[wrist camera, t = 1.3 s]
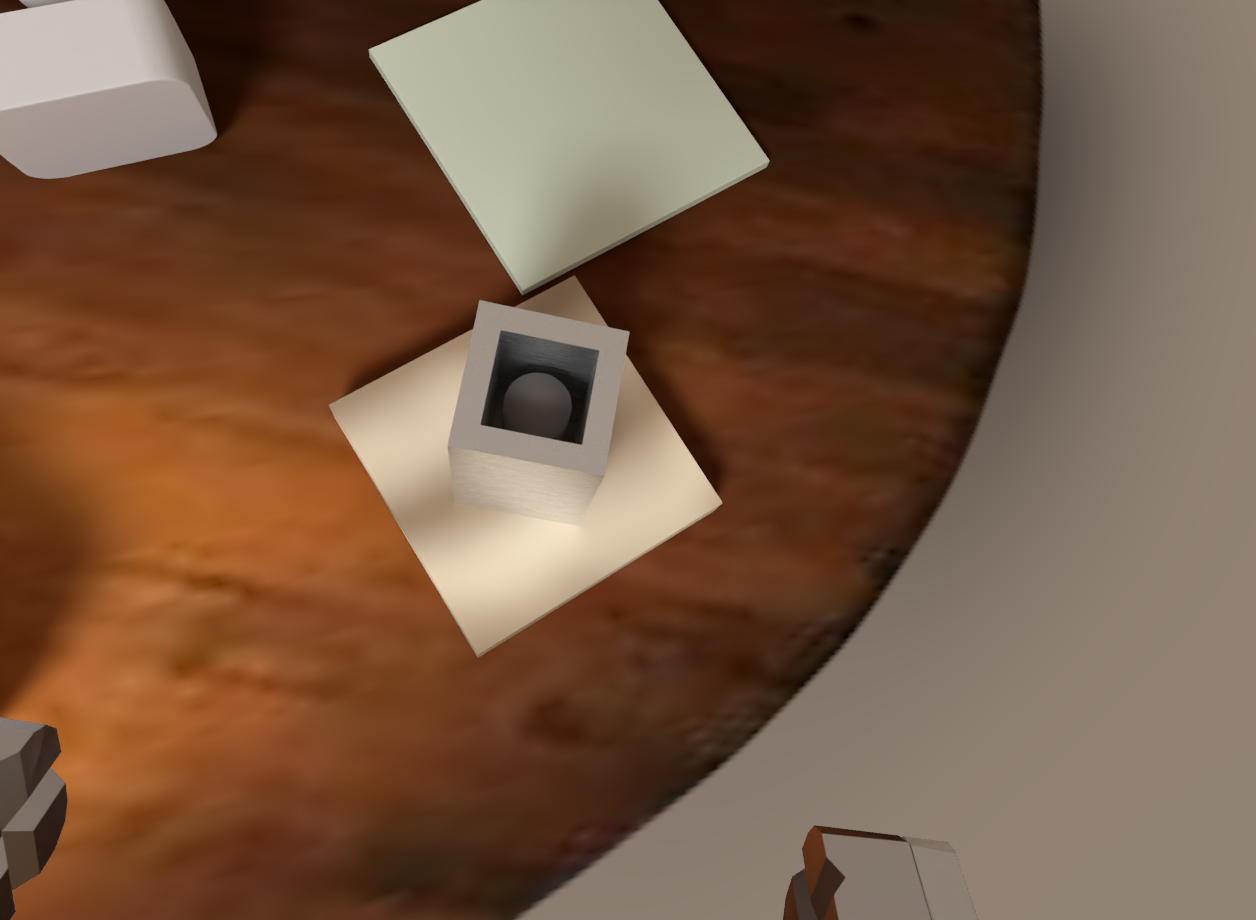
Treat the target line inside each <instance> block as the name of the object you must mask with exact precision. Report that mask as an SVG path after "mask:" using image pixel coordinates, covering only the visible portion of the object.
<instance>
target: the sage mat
mask: <svg viewBox="0 0 1256 920" xmlns="http://www.w3.org/2000/svg"><path fill="white" fill-rule="evenodd" d="M369 54H370V58H371V60H372V61H373V63H374V64H375V66H376V67H377V69H378V71H379V72H380V74H381V75H382V77H383V78H384V80H385V82H386V83H387V85H388V86H389V88H390V89H391V91H392V92H393V94H394V96H395V97H396V99H397V100H398V102H399V103H400V105H401V107H402V108H403V110H404V111H405V113H406V114H407V116H408V117H409V119H410V121H411V122H412V124H413V125H414V127H415V128H416V130H417V132H418V133H419V135H420V136H421V138H422V139H423V141H424V143H425V144H426V146H427V147H428V149H429V150H430V152H431V153H432V155H433V157H434V158H435V160H436V161H437V163H438V164H439V166H440V168H441V169H442V171H443V172H444V174H445V175H446V177H447V179H448V180H449V182H450V183H451V185H452V186H453V188H454V189H455V191H456V193H457V194H458V196H459V197H460V199H461V200H462V202H463V204H464V205H465V207H466V208H467V210H468V211H469V213H470V214H471V216H472V218H473V219H474V221H475V222H476V224H477V225H478V227H479V229H480V230H481V232H482V233H483V235H484V236H485V238H486V240H487V241H488V243H489V244H490V246H491V247H492V249H493V250H494V252H495V254H496V255H497V257H498V258H499V260H500V261H501V263H502V265H503V266H504V268H505V269H506V271H507V272H508V274H509V276H510V277H511V279H512V280H513V282H514V283H515V285H516V286H517V288H518V290H519V291H520V293H521V294H522V295H524V294H526V293H528V292H530V291H532V290H534V289H536V288H538V287H540V286H541V285H543V284H545V283H547V282H549V281H551V280H553V279H555V278H557V277H559V276H560V275H562V274H564V273H566V272H568V271H570V270H572V269H574V268H576V267H578V266H580V265H581V264H583V263H585V262H587V261H589V260H591V259H593V258H595V257H597V256H599V255H600V254H602V253H604V252H606V251H608V250H610V249H612V248H614V247H616V246H618V245H620V244H621V243H623V242H625V241H627V240H629V239H631V238H633V237H635V236H637V235H639V234H640V233H642V232H644V231H646V230H648V229H650V228H652V227H654V226H656V225H658V224H660V223H661V222H663V221H665V220H667V219H669V218H671V217H673V216H675V215H677V214H679V213H680V212H682V211H684V210H686V209H688V208H690V207H692V206H694V205H696V204H698V203H700V202H701V201H703V200H705V199H707V198H709V197H711V196H713V195H715V194H717V193H719V192H720V191H722V190H724V189H726V188H728V187H730V186H732V185H734V184H736V183H738V182H739V181H741V180H743V179H745V178H747V177H749V176H751V175H753V174H755V173H757V172H759V171H760V170H762V169H764V168H766V167H767V165H768V163H769V161H770V160H769V159H768V158H767V156H766V155H765V153H764V152H763V150H762V149H761V148H760V146H759V145H758V143H757V142H756V140H755V139H754V137H753V136H752V135H751V133H750V132H749V130H748V129H747V127H746V126H745V125H744V123H743V122H742V120H741V119H740V117H739V116H738V115H737V113H736V112H735V110H734V109H733V107H732V106H731V104H730V103H729V102H728V100H727V99H726V97H725V96H724V94H723V93H722V92H721V90H720V89H719V87H718V86H717V84H716V83H715V81H714V80H713V79H712V77H711V76H710V74H709V73H708V71H707V70H706V69H705V67H704V66H703V64H702V63H701V61H700V60H699V59H698V57H697V56H696V54H695V53H694V51H693V50H692V48H691V47H690V46H689V44H688V43H687V41H686V40H685V38H684V37H683V36H682V34H681V33H680V31H679V30H678V28H677V27H676V25H675V24H674V23H673V21H672V20H671V18H670V17H669V15H668V14H667V13H666V11H665V10H664V8H663V7H662V5H661V4H660V2H659V1H658V0H481V1H479V2H477V3H474V4H472V5H470V6H467V7H465V8H463V9H461V10H458V11H456V12H454V13H451V14H449V15H447V16H444V17H442V18H440V19H438V20H435V21H433V22H431V23H428V24H426V25H424V26H421V27H419V28H417V29H415V30H412V31H410V32H408V33H405V34H403V35H401V36H398V37H396V38H394V39H392V40H389V41H387V42H385V43H382V44H380V45H378V46H375V47H373V48H371V49H369Z"/></svg>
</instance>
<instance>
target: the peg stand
mask: <svg viewBox="0 0 1256 920" xmlns="http://www.w3.org/2000/svg"><path fill="white" fill-rule="evenodd" d="M515 308H519V309H524V310H529V311H534V312H538V313H543V314H548V315H553V316H558V317H562V318H567V319H572V320H577V321H581V322H586V323H591V324H596V325H600V326H605V327H608V326H607V324H606V323H605V321H604V320H603V318H602V317H601V315H600V314H599V312H598V310H597V309H596V307H595V306H594V304H593V303H592V301H591V300H590V298H589V297H588V295H587V294H586V292H585V290H584V289H583V287H582V286H581V284H580V283H579V281H578V280H577V278H576V277H575V275H574V276H572V277H570V278H569V279H567V280H565V281H563V282H561V283H559V284H557V285H555V286H553V287H551V288H550V289H548V290H546V291H544V292H542V293H540V294H538V295H536V296H534V297H532V298H531V299H529V300H527V301H525V302H523V303H521V304H519V305H517V306H515ZM472 332H473V329H472V330H470V331H468V332H466V333H464V334H462V335H460V336H459V337H457V338H455V339H453V340H451V341H449V342H447V343H445V344H443V345H441V346H440V347H438V348H436V349H434V350H432V351H430V352H428V353H426V354H424V355H422V356H421V357H419V358H417V359H415V360H413V361H411V362H409V363H407V364H405V365H404V366H402V367H400V368H398V369H396V370H394V371H392V372H390V373H388V374H386V375H385V376H383V377H381V378H379V379H377V380H375V381H373V382H371V383H369V384H367V385H366V386H364V387H362V388H360V389H358V390H356V391H354V392H352V393H350V394H348V395H347V396H345V397H343V398H341V399H339V400H337V401H335V402H333V403H331V404H330V405H329V407H330V409H331V411H332V413H333V415H334V417H335V419H336V421H337V422H338V424H339V426H340V427H341V429H342V431H343V432H344V434H345V436H346V437H347V439H348V441H349V443H350V444H351V446H352V448H353V449H354V451H355V453H356V454H357V456H358V458H359V459H360V461H361V463H362V464H363V466H364V468H365V469H366V471H367V473H368V474H369V476H370V478H371V479H372V481H373V483H374V484H375V486H376V488H377V490H378V491H379V493H380V495H381V496H382V498H383V500H384V501H385V503H386V505H387V506H388V508H389V510H390V511H391V513H392V515H393V516H394V518H395V520H396V521H397V523H398V525H399V526H400V528H401V530H402V531H403V533H404V535H405V537H406V538H407V540H408V542H409V543H410V545H411V547H412V548H413V550H414V552H415V553H416V555H417V557H418V558H419V560H420V562H421V563H422V565H423V567H424V568H425V570H426V572H427V573H428V575H429V577H430V579H431V580H432V582H433V584H434V585H435V587H436V589H437V590H438V592H439V594H440V595H441V597H442V599H443V600H444V602H445V604H446V605H447V607H448V609H449V610H450V612H451V614H452V615H453V617H454V619H455V620H456V622H457V624H458V626H459V627H460V629H461V631H462V632H463V634H464V636H465V637H466V639H467V641H468V642H469V644H470V646H471V647H472V649H473V651H474V652H475V654H476V656H477V657H480V656H482V655H483V654H485V653H486V652H488V651H490V650H491V649H493V648H495V647H496V646H498V645H499V644H501V643H503V642H504V641H506V640H507V639H509V638H511V637H512V636H514V635H515V634H517V633H519V632H520V631H522V630H523V629H525V628H527V627H528V626H530V625H532V624H533V623H535V622H536V621H538V620H540V619H541V618H543V617H544V616H546V615H548V614H549V613H551V612H552V611H554V610H556V609H557V608H559V607H560V606H562V605H564V604H565V603H567V602H569V601H570V600H572V599H573V598H575V597H577V596H578V595H580V594H581V593H583V592H585V591H586V590H588V589H589V588H591V587H593V586H594V585H596V584H597V583H599V582H601V581H602V580H604V579H606V578H607V577H609V576H610V575H612V574H614V573H615V572H617V571H618V570H620V569H622V568H623V567H625V566H626V565H628V564H630V563H631V562H633V561H634V560H636V559H638V558H639V557H641V556H643V555H644V554H646V553H647V552H649V551H651V550H652V549H654V548H655V547H657V546H659V545H660V544H662V543H663V542H665V541H667V540H668V539H670V538H671V537H673V536H675V535H676V534H678V533H680V532H681V531H683V530H684V529H686V528H688V527H689V526H691V525H692V524H694V523H696V522H697V521H699V520H700V519H702V518H704V517H705V516H707V515H708V514H710V513H712V512H713V511H714V510H715V509H716V508H717V507H719V506H720V505H721V504H722V501H721V500H720V498H719V497H718V495H717V493H716V492H715V490H714V489H713V487H712V486H711V484H710V483H709V481H708V480H707V478H706V477H705V475H704V473H703V472H702V470H701V469H700V467H699V466H698V464H697V463H696V461H695V460H694V458H693V457H692V455H691V453H690V452H689V450H688V449H687V447H686V446H685V444H684V443H683V441H682V440H681V438H680V437H679V435H678V433H677V432H676V430H675V429H674V427H673V426H672V424H671V423H670V421H669V420H668V418H667V417H666V415H665V414H664V412H663V410H662V409H661V407H660V406H659V404H658V403H657V401H656V400H655V398H654V397H653V395H652V394H651V392H650V390H649V389H648V387H647V386H646V384H645V383H644V381H643V380H642V378H641V377H640V375H639V374H638V372H637V370H636V369H635V367H634V366H633V364H632V363H631V361H630V360H629V358H628V357H627V355H625V361H624V367H623V372H622V378H621V384H620V389H619V395H618V401H617V406H616V412H615V418H614V423H613V429H612V435H611V440H610V446H609V452H608V458H607V463H606V469H605V475H604V478H603V480H602V481H601V483H600V485H599V487H598V489H597V491H596V493H595V495H594V497H593V499H592V501H591V503H590V505H589V507H588V509H587V511H586V513H585V515H584V517H583V519H582V521H581V523H580V525H579V526H575V525H570V524H565V523H559V522H554V521H549V520H544V519H538V518H533V517H528V516H523V515H517V514H512V513H507V512H502V511H496V510H491V509H486V508H480V507H475V506H470V505H465V504H459V503H454V495H453V487H452V479H451V471H450V463H449V455H448V447H447V445H448V440H449V436H450V431H451V427H452V422H453V418H454V413H455V409H456V404H457V400H458V395H459V391H460V386H461V382H462V377H463V373H464V368H465V364H466V359H467V355H468V350H469V346H470V341H471V337H472ZM571 409H572V403H571V397H570V394H569V392H568V390H567V389H566V387H565V386H564V385H563V384H562V382H560V381H559V380H558V379H556V378H555V377H553V376H551V375H548V374H544V373H530V374H526V375H523V376H521V377H519V378H518V379H516V380H515V381H514V382H513V383H512V384H511V385H510V386H509V388H508V389H507V391H506V394H505V397H504V405H503V410H500V409H497V410H496V415H495V419H494V424H493V427H494V428H499V429H504V430H509V431H514V432H519V433H524V434H529V435H534V436H539V437H544V438H549V439H554V440H559V441H564V442H569V443H572V441H573V436H574V431H575V424H570V423H568V421H569V418H570V414H571Z"/></svg>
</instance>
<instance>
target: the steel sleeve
mask: <svg viewBox="0 0 1256 920" xmlns="http://www.w3.org/2000/svg"><path fill="white" fill-rule="evenodd" d="M628 338H629V331H624V330H620V329H615V328H610V327H605V326H600V325H596V324H591V323H586V322H581V321H577V320H572V319H567V318H562V317H558V316H553V315H548V314H543V313H538V312H534V311H529V310H524V309H519V308H515V307H510V306H505V305H500V304H495V303H491V302H486V301H481V300H480V301H479V305H478V310H477V314H476V319H475V323H474V328H473V332H472V337H471V341H470V346H469V350H468V355H467V359H466V364H465V368H464V373H463V377H462V382H461V386H460V391H459V395H458V400H457V404H456V409H455V413H454V418H453V422H452V427H451V431H450V436H449V440H448V445H447V447H448V455H449V463H450V471H451V479H452V487H453V495H454V503H459V504H465V505H470V506H475V507H480V508H486V509H491V510H496V511H502V512H507V513H512V514H517V515H523V516H528V517H533V518H538V519H544V520H549V521H554V522H559V523H565V524H570V525H575V526H579V525H580V523H581V521H582V519H583V517H584V515H585V513H586V511H587V509H588V507H589V505H590V503H591V501H592V499H593V497H594V495H595V493H596V491H597V489H598V487H599V485H600V483H601V481H602V480H603V478H604V475H605V469H606V463H607V458H608V452H609V446H610V440H611V435H612V429H613V423H614V418H615V412H616V406H617V401H618V395H619V389H620V384H621V378H622V372H623V367H624V361H625V355H626V350H627V344H628ZM530 373H544V374H548V375H551V376H553V377H555V378H556V379H558V380H559V381H560V382H562V384H563V385H564V386H565V387H566V389H567V390H568V392H569V394H570V397H571V403H572V409H571V414H570V418H569V421H568V423H570V424H575V431H574V436H573V441H572V443H569V442H564V441H559V440H554V439H549V438H544V437H539V436H534V435H529V434H524V433H519V432H514V431H509V430H504V429H499V428H494V427H493V424H494V419H495V415H496V410H497V409H500V410H503V405H504V397H505V394H506V391H507V389H508V388H509V386H510V385H511V384H512V383H513V382H514V381H515V380H516V379H518V378H519V377H521V376H523V375H526V374H530Z"/></svg>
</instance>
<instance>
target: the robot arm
mask: <svg viewBox="0 0 1256 920" xmlns="http://www.w3.org/2000/svg"><path fill="white" fill-rule="evenodd" d="M60 753H61V749H60V744H59V738H58V733H57V729H56V728H54V727H51V726H48V725H44V724H38V723H32V722H25V721H19V720H13V719H6V718H0V920H11V918H12V917H13V915H14V914H15V912H16V910H15V904H14V899H13V893H12V891H13V890H14V889H16V888H18V887H19V886H21V885H23V884H24V883H26V882H28V881H29V880H31V879H32V878H34V877H36V876H37V875H39V874H40V873H41V871H42V870H43V868H44V866H45V865H46V863H47V862H48V860H49V858H50V857H51V855H52V853H53V852H54V850H55V848H56V845H57V842H58V839H59V837H60V834H61V831H62V828H63V826H64V823H65V818H66V809H67V792H66V783H65V782H64V781H63V780H62V779H61V778H60V777H59V776H58V775H57V774H56V773H55V772H54V770H53V769H52V768H51V766H52V764H53V763H54V761H55V760H56V758H57V757H58V756H59V754H60ZM802 850H803V857H804V863H805V869H803V870H802V871H800V872H799V873H797V874H796V875H794V876H793V877H792V879H791V883H790V886H789V889H788V892H787V895H786V900H785V908H784V917H783V920H978V917H977V914H976V911H975V908H974V905H973V902H972V899H971V896H970V894H969V891H968V888H967V885H966V882H965V879H964V876H963V873H962V870H961V867H960V864H959V862H958V858H957V855H956V852H955V850H954V849H953V848H952V847H951V845H950V844H949V843H948V842H943V841H935V840H927V839H919V838H911V837H900V836H897V835H889V834H881V833H873V832H864V831H856V830H848V829H839V828H831V827H823V826H814V827H813V828H812V829H811V830H810V831H809V833H808V835H807V837H806V840H805V843H804V845H803V848H802Z"/></svg>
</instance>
